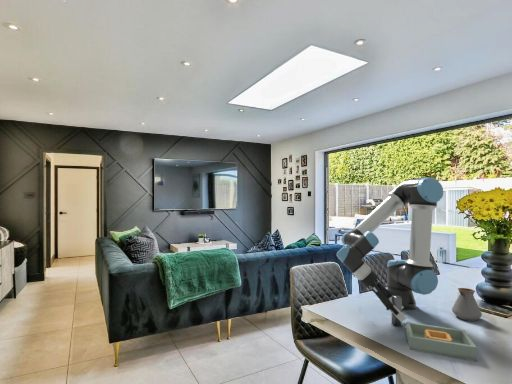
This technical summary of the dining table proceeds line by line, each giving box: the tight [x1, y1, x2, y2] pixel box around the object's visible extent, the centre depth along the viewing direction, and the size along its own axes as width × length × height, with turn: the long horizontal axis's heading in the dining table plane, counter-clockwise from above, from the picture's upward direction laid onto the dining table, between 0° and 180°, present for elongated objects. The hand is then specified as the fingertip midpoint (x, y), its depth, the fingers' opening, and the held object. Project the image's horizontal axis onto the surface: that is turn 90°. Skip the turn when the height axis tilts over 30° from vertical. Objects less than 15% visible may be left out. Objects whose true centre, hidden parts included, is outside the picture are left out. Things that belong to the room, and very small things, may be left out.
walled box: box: [405, 321, 478, 362], centre depth 113 cm, size 15×20×4 cm
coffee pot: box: [451, 287, 483, 322], centre depth 139 cm, size 21×12×15 cm, turn 138°
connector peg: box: [391, 295, 403, 328], centre depth 132 cm, size 4×4×12 cm
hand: (402, 314), depth 132 cm, fingers open, 13 cm apart
